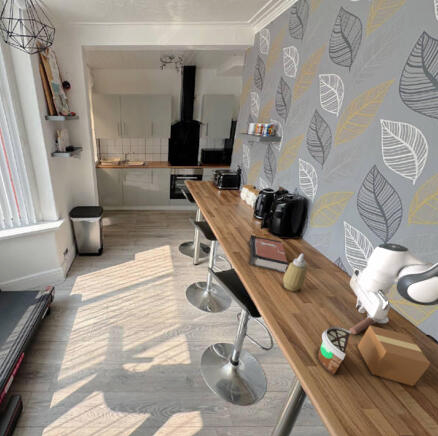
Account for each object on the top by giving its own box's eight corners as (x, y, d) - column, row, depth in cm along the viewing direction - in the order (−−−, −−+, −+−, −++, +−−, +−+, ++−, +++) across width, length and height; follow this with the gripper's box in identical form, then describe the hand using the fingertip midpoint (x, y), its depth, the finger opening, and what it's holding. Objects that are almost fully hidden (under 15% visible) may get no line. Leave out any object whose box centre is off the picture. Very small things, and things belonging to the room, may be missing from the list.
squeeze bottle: (300, 296, 103) (313, 261, 95) (280, 288, 107) (291, 255, 99) (301, 285, 109) (313, 252, 102) (281, 279, 113) (292, 247, 106)
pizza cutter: (360, 342, 83) (363, 336, 82) (341, 328, 88) (344, 323, 87) (389, 322, 91) (393, 316, 90) (370, 311, 96) (374, 305, 95)
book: (287, 273, 118) (290, 264, 116) (250, 264, 123) (252, 256, 121) (280, 248, 140) (282, 240, 138) (249, 242, 146) (251, 235, 144)
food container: (318, 340, 82) (328, 319, 78) (340, 352, 78) (351, 330, 74) (309, 363, 74) (319, 341, 70) (332, 378, 70) (345, 355, 66)
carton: (393, 356, 78) (408, 334, 73) (413, 386, 69) (431, 363, 65) (357, 346, 81) (369, 325, 76) (371, 373, 72) (386, 351, 68)
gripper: (401, 304, 78) (383, 333, 84) (371, 269, 96) (357, 295, 102) (378, 298, 80) (362, 328, 86) (353, 266, 98) (340, 292, 103)
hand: (359, 310), depth 94 cm, fingers closed
